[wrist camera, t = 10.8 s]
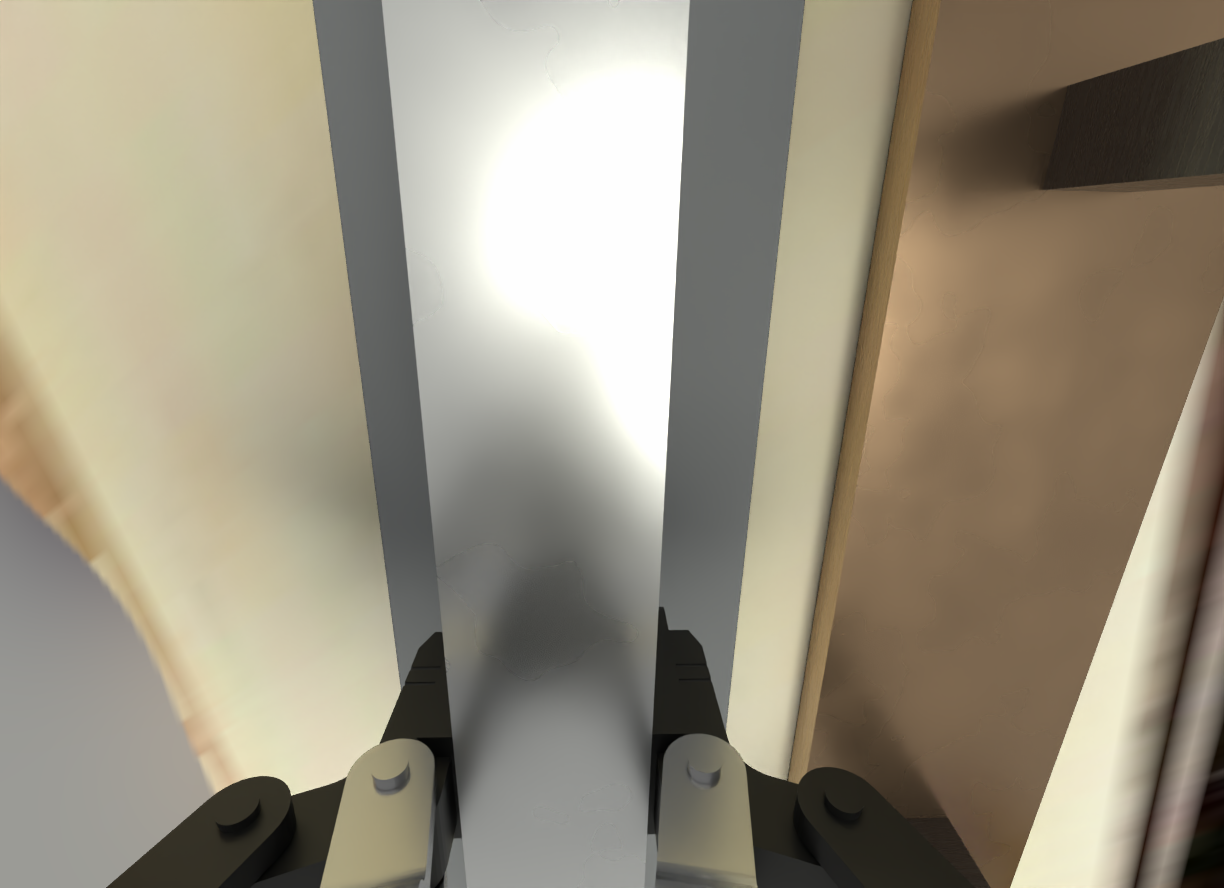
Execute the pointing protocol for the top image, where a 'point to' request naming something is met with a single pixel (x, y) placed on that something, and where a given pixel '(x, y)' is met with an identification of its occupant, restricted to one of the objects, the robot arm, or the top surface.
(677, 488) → the charcoal mat
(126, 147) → the top surface
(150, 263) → the top surface
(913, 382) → the hook rack
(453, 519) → the steel rail
